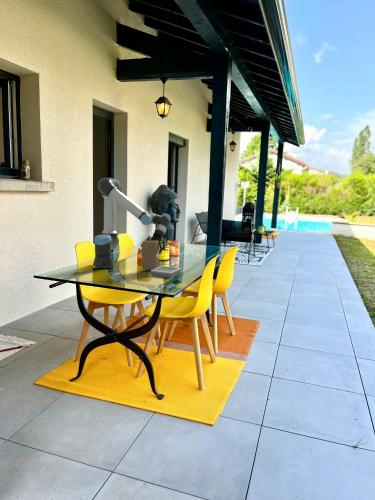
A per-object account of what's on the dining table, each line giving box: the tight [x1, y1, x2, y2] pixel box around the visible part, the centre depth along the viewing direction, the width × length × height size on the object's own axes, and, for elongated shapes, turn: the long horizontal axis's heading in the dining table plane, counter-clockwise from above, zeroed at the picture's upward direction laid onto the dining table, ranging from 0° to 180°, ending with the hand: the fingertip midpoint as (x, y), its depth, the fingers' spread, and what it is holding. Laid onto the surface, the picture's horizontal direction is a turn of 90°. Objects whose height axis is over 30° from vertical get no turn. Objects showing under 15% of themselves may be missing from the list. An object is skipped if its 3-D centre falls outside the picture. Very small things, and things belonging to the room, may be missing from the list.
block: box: [141, 239, 160, 271], centre depth 265 cm, size 10×10×20 cm
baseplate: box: [150, 265, 182, 279], centre depth 257 cm, size 15×15×4 cm
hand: (148, 256), depth 263 cm, fingers closed on block, 12 cm apart
